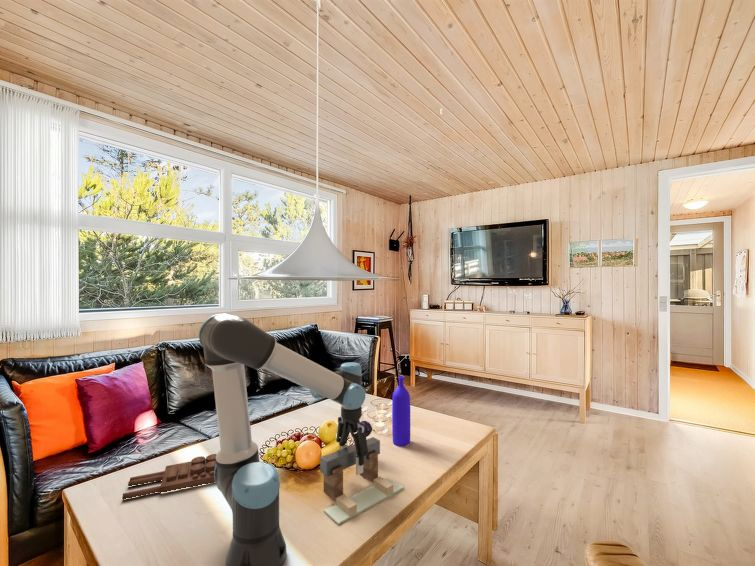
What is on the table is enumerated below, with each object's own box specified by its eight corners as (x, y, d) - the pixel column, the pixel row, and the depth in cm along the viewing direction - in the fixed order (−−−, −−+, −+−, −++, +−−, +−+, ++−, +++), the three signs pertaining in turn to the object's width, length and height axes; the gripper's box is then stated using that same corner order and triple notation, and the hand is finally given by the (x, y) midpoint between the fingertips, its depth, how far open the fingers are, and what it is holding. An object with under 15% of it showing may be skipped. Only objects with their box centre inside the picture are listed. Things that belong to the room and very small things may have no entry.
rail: (326, 476, 119) (326, 461, 119) (320, 471, 122) (320, 457, 122) (379, 453, 134) (379, 440, 134) (373, 449, 137) (373, 437, 137)
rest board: (338, 525, 107) (338, 515, 107) (323, 512, 113) (323, 502, 113) (403, 488, 125) (403, 480, 125) (388, 479, 131) (388, 471, 131)
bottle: (389, 440, 163) (388, 375, 163) (404, 437, 166) (404, 373, 166) (397, 448, 155) (397, 380, 155) (413, 444, 159) (413, 378, 159)
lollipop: (370, 461, 144) (370, 425, 144) (354, 460, 145) (354, 423, 145) (374, 453, 151) (373, 418, 151) (358, 452, 152) (358, 417, 152)
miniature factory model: (219, 470, 130) (121, 490, 118) (220, 483, 130) (121, 504, 118) (219, 451, 144) (132, 467, 132) (219, 463, 144) (132, 480, 132)
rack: (333, 499, 119) (333, 470, 119) (323, 491, 124) (323, 463, 124) (378, 477, 132) (377, 451, 132) (367, 470, 137) (367, 445, 137)
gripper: (378, 411, 122) (378, 476, 122) (342, 396, 138) (342, 453, 139) (361, 417, 117) (362, 484, 117) (326, 400, 133) (326, 460, 134)
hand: (351, 468), depth 128 cm, fingers open, 9 cm apart
